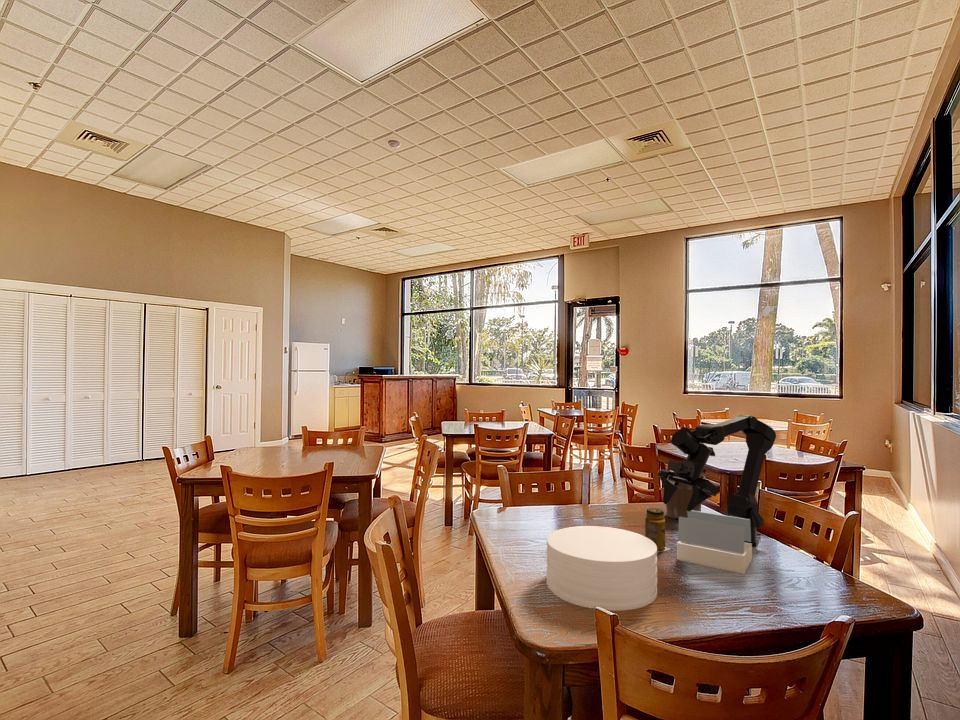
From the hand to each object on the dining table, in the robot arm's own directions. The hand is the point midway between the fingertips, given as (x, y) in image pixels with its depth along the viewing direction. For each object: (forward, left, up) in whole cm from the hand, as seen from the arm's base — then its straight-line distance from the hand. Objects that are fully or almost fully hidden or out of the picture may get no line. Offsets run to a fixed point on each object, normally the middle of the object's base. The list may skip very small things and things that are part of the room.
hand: (675, 507), depth 154 cm
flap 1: (-9, +10, -6) cm, 15 cm away
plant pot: (-46, -10, -15) cm, 50 cm away
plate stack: (+34, -10, -15) cm, 38 cm away
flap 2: (+1, +10, -6) cm, 12 cm away
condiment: (-3, -8, -15) cm, 17 cm away
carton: (-4, +10, -15) cm, 18 cm away
